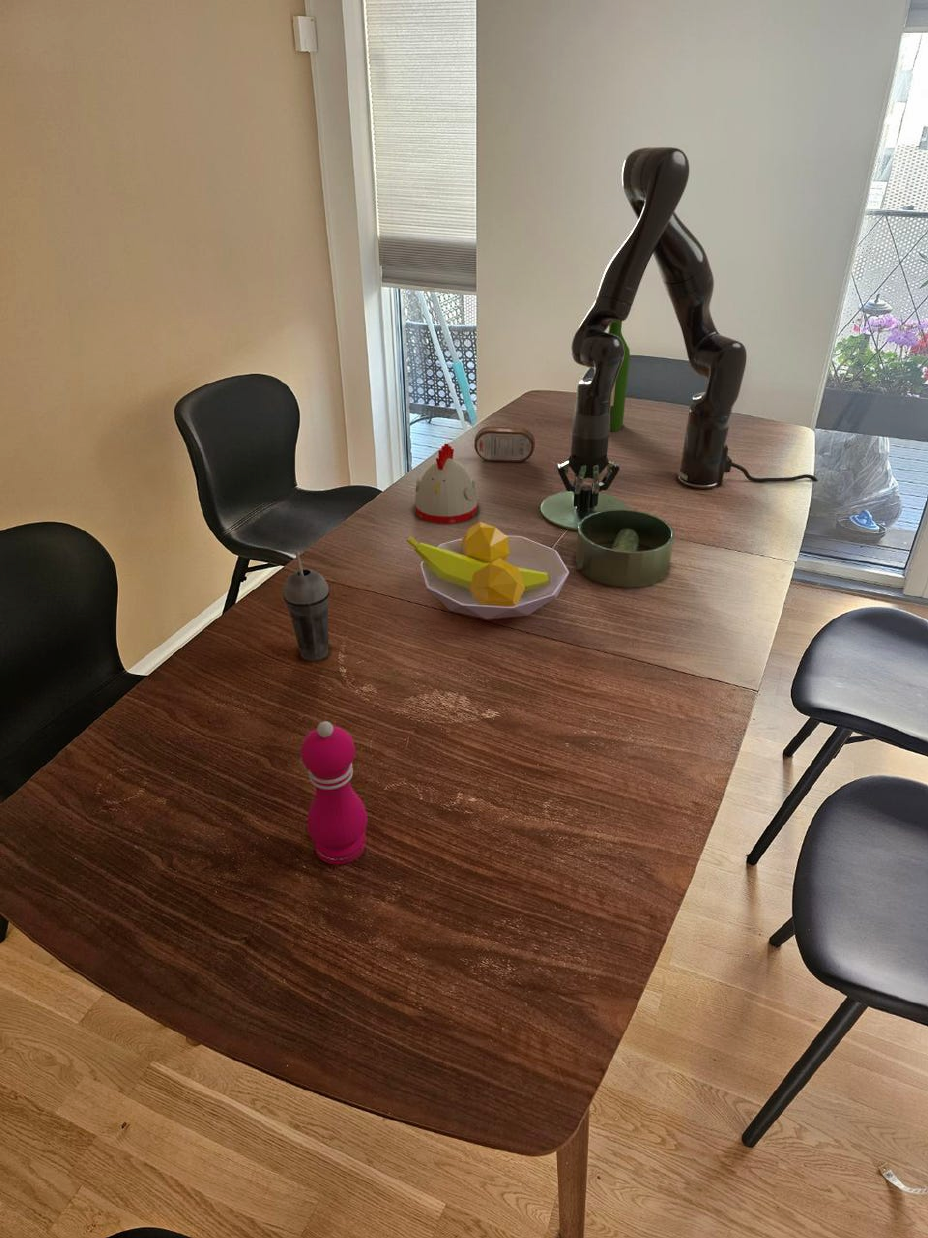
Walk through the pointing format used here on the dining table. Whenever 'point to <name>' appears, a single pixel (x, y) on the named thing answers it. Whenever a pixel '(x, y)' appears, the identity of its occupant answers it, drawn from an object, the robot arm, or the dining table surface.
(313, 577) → the beverage cup
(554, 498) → the lid
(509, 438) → the tin
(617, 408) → the wine bottle
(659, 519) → the green open cylinder
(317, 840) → the pepper mill
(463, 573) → the fruit bowl
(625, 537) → the vegetable
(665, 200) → the robot arm
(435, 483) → the kitchen timer
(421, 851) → the dining table surface
